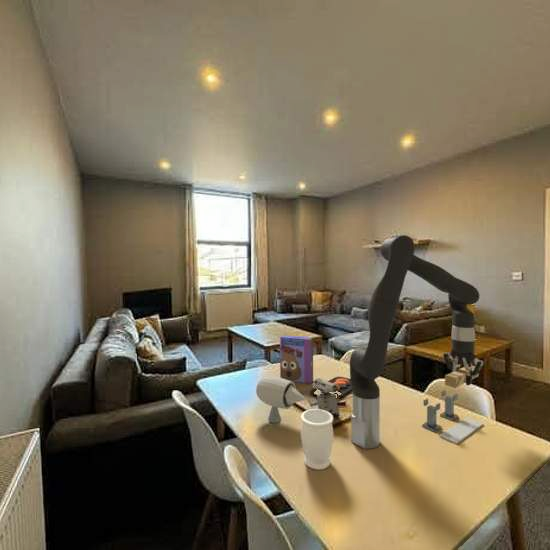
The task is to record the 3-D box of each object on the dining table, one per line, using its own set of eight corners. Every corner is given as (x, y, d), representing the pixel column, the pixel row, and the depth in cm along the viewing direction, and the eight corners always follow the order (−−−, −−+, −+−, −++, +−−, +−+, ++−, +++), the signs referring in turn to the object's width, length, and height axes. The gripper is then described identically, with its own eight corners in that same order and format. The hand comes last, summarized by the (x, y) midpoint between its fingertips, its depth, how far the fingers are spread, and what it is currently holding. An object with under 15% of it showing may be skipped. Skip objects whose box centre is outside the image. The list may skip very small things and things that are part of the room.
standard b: (453, 421, 124) (453, 396, 124) (439, 416, 128) (439, 392, 128) (458, 417, 127) (459, 393, 127) (445, 412, 131) (445, 389, 131)
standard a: (435, 432, 116) (435, 406, 116) (421, 426, 120) (421, 401, 120) (441, 428, 119) (442, 402, 119) (428, 422, 123) (428, 397, 123)
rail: (455, 388, 110) (455, 378, 109) (444, 384, 112) (445, 375, 112) (478, 376, 121) (478, 367, 120) (468, 373, 124) (468, 364, 123)
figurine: (324, 408, 137) (324, 374, 136) (342, 419, 127) (342, 383, 126) (307, 413, 132) (307, 378, 131) (325, 425, 122) (324, 388, 122)
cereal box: (280, 379, 171) (279, 336, 170) (283, 376, 175) (283, 334, 174) (310, 384, 164) (310, 339, 163) (313, 381, 168) (312, 337, 168)
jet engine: (272, 438, 113) (272, 391, 113) (252, 414, 131) (252, 374, 131) (307, 428, 120) (307, 384, 119) (283, 407, 138) (283, 368, 137)
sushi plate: (337, 379, 173) (337, 372, 172) (391, 393, 153) (391, 385, 153) (307, 396, 151) (307, 388, 151) (365, 415, 131) (365, 406, 131)
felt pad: (456, 444, 108) (456, 442, 108) (439, 436, 113) (439, 435, 113) (483, 424, 121) (483, 423, 121) (466, 418, 126) (466, 417, 126)
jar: (333, 474, 93) (333, 426, 93) (299, 470, 96) (298, 422, 95) (333, 453, 104) (333, 409, 103) (303, 450, 106) (302, 407, 105)
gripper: (438, 336, 120) (438, 379, 120) (479, 343, 108) (479, 392, 109) (448, 333, 124) (447, 375, 124) (488, 340, 112) (487, 386, 113)
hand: (462, 383), depth 117 cm, fingers closed on rail, 3 cm apart
